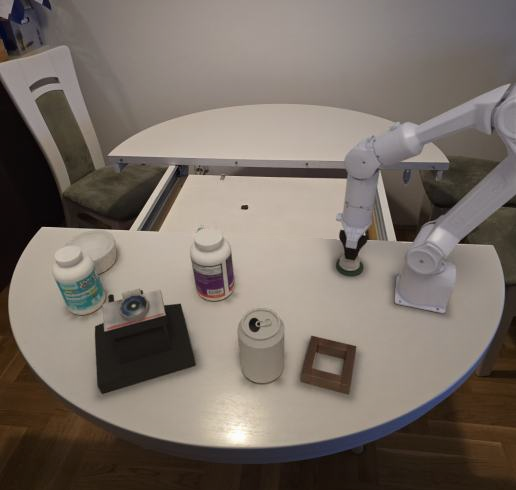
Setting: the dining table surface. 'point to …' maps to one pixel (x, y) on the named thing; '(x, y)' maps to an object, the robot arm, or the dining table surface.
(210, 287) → the pill bottle
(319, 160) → the dining table surface
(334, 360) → the dining table surface
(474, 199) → the robot arm
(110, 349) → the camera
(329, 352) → the holder
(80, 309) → the pill bottle
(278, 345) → the can
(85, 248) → the ramekin
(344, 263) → the rook chess piece
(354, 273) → the coaster
